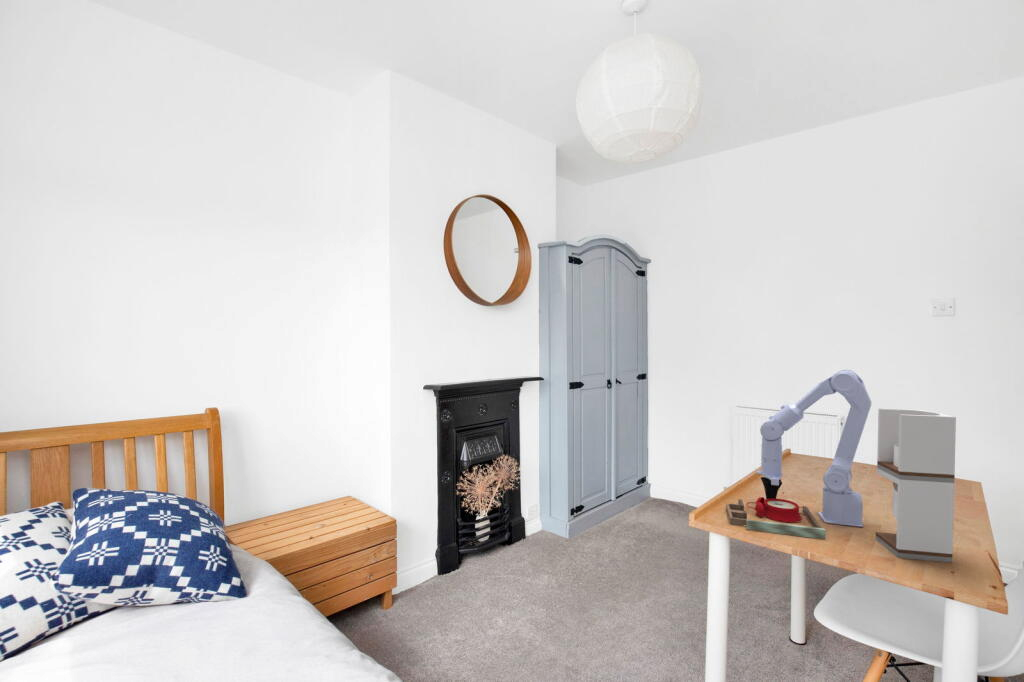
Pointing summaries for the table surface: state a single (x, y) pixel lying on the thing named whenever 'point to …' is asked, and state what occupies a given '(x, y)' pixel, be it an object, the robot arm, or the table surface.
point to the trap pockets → (735, 514)
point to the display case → (919, 481)
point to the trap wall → (786, 526)
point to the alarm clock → (778, 509)
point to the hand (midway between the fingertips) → (770, 501)
